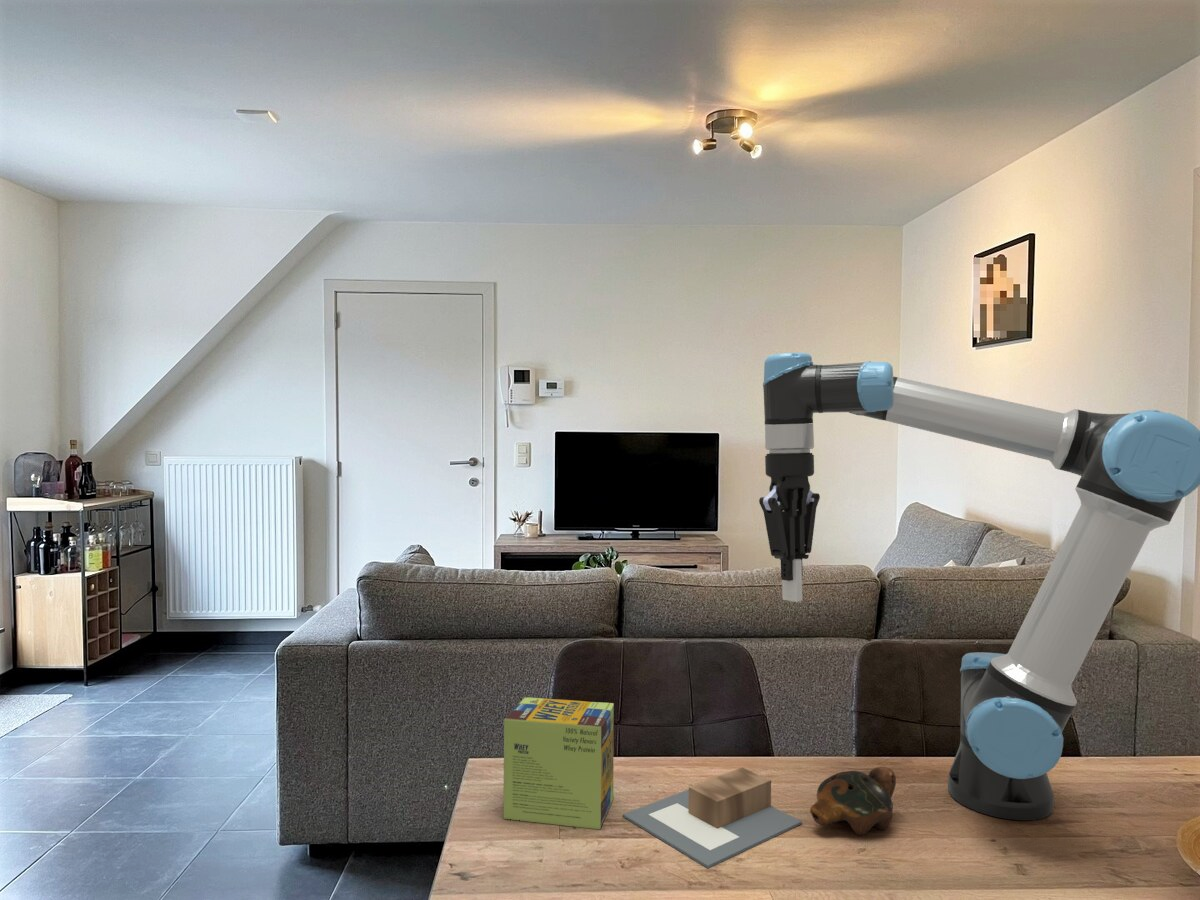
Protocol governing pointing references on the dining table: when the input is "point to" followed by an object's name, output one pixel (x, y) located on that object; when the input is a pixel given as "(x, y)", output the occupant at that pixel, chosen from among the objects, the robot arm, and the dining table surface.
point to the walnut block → (729, 797)
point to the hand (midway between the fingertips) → (792, 599)
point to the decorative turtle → (856, 799)
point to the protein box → (559, 762)
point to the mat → (708, 829)
